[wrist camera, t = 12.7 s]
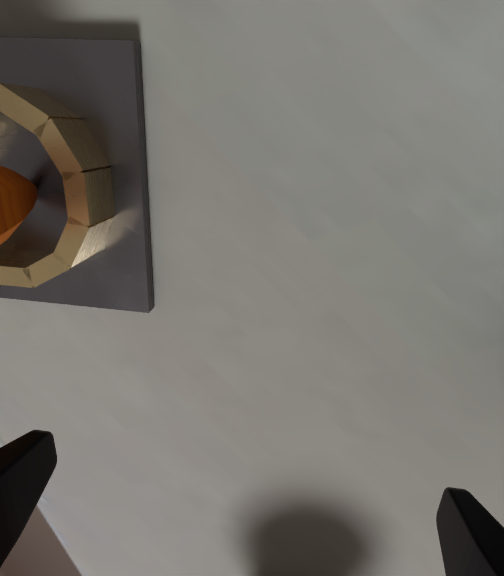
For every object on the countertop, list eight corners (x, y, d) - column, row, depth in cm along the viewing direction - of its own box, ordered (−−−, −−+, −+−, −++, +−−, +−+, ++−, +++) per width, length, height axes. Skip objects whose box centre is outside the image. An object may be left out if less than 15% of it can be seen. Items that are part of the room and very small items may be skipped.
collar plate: (140, 44, 18) (105, 26, 15) (154, 306, 23) (130, 334, 20) (-99, 37, 19) (-177, 20, 16) (-37, 287, 24) (-88, 310, 21)
